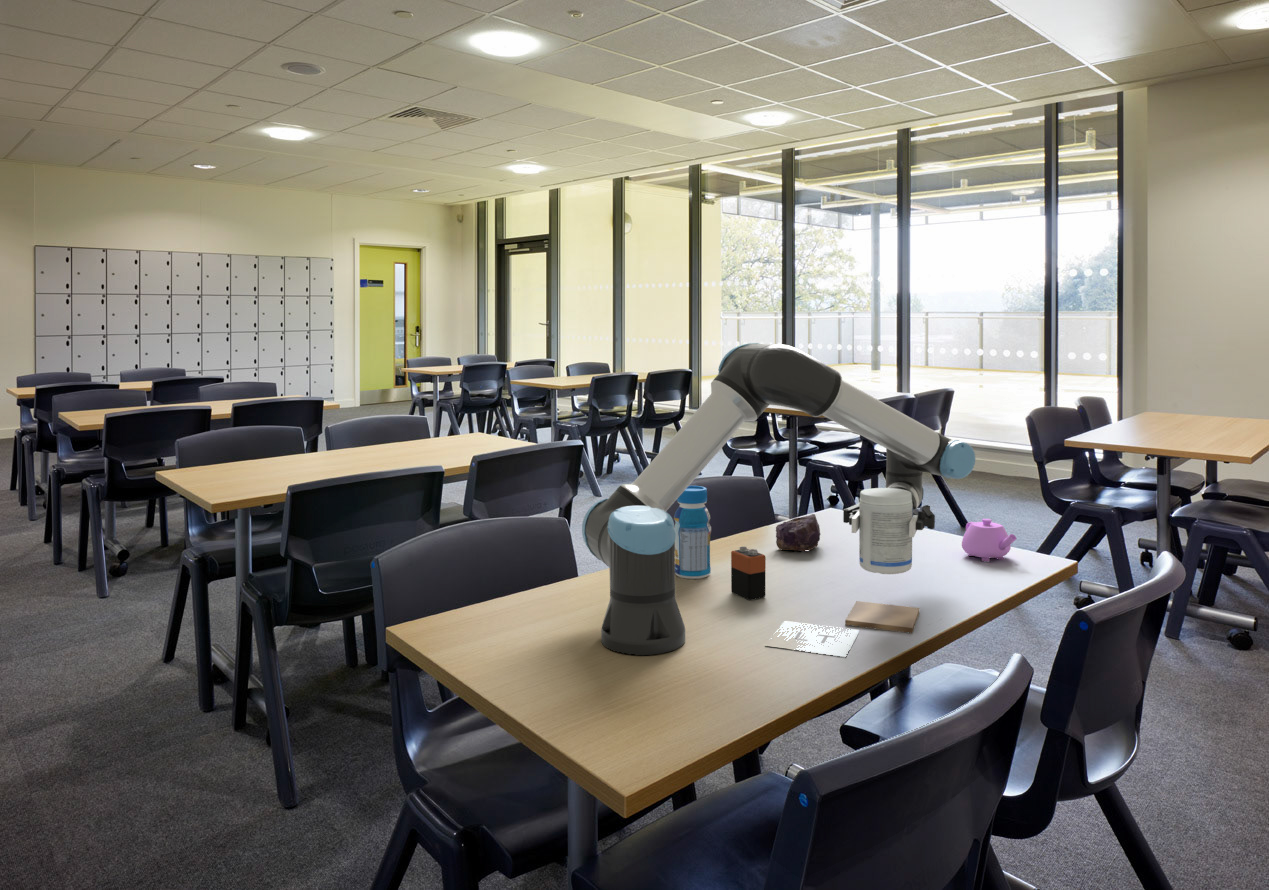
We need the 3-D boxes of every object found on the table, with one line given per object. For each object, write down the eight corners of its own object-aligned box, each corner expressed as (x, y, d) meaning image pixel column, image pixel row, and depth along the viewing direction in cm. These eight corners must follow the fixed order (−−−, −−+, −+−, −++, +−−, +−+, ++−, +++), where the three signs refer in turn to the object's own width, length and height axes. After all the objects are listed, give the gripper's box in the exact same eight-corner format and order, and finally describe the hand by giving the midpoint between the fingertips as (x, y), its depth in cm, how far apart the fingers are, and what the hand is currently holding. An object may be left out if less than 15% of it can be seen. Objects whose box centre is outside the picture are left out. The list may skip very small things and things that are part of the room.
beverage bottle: (691, 582, 187) (690, 493, 185) (666, 574, 194) (665, 488, 191) (719, 575, 192) (718, 488, 190) (693, 567, 199) (692, 483, 196)
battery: (749, 601, 174) (749, 553, 172) (730, 592, 180) (730, 546, 178) (766, 597, 176) (766, 550, 174) (747, 589, 182) (747, 543, 180)
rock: (773, 552, 216) (794, 561, 207) (768, 520, 215) (789, 527, 205) (813, 540, 220) (835, 548, 211) (808, 508, 219) (830, 515, 209)
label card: (764, 646, 149) (764, 645, 149) (784, 621, 161) (784, 620, 161) (845, 657, 143) (845, 657, 143) (859, 630, 156) (859, 629, 156)
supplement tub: (922, 569, 159) (924, 492, 157) (888, 578, 154) (890, 499, 152) (881, 558, 167) (882, 485, 165) (847, 567, 162) (848, 491, 160)
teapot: (980, 548, 212) (982, 511, 210) (1030, 563, 198) (1031, 523, 197) (948, 553, 208) (949, 516, 206) (996, 568, 194) (998, 528, 193)
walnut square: (845, 625, 159) (845, 619, 159) (856, 605, 170) (856, 600, 169) (912, 633, 154) (912, 628, 154) (919, 612, 165) (919, 607, 165)
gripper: (954, 525, 171) (946, 553, 151) (843, 518, 180) (821, 542, 160) (955, 489, 170) (947, 511, 150) (843, 483, 179) (821, 503, 159)
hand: (882, 527), depth 155 cm, fingers closed on supplement tub, 9 cm apart
